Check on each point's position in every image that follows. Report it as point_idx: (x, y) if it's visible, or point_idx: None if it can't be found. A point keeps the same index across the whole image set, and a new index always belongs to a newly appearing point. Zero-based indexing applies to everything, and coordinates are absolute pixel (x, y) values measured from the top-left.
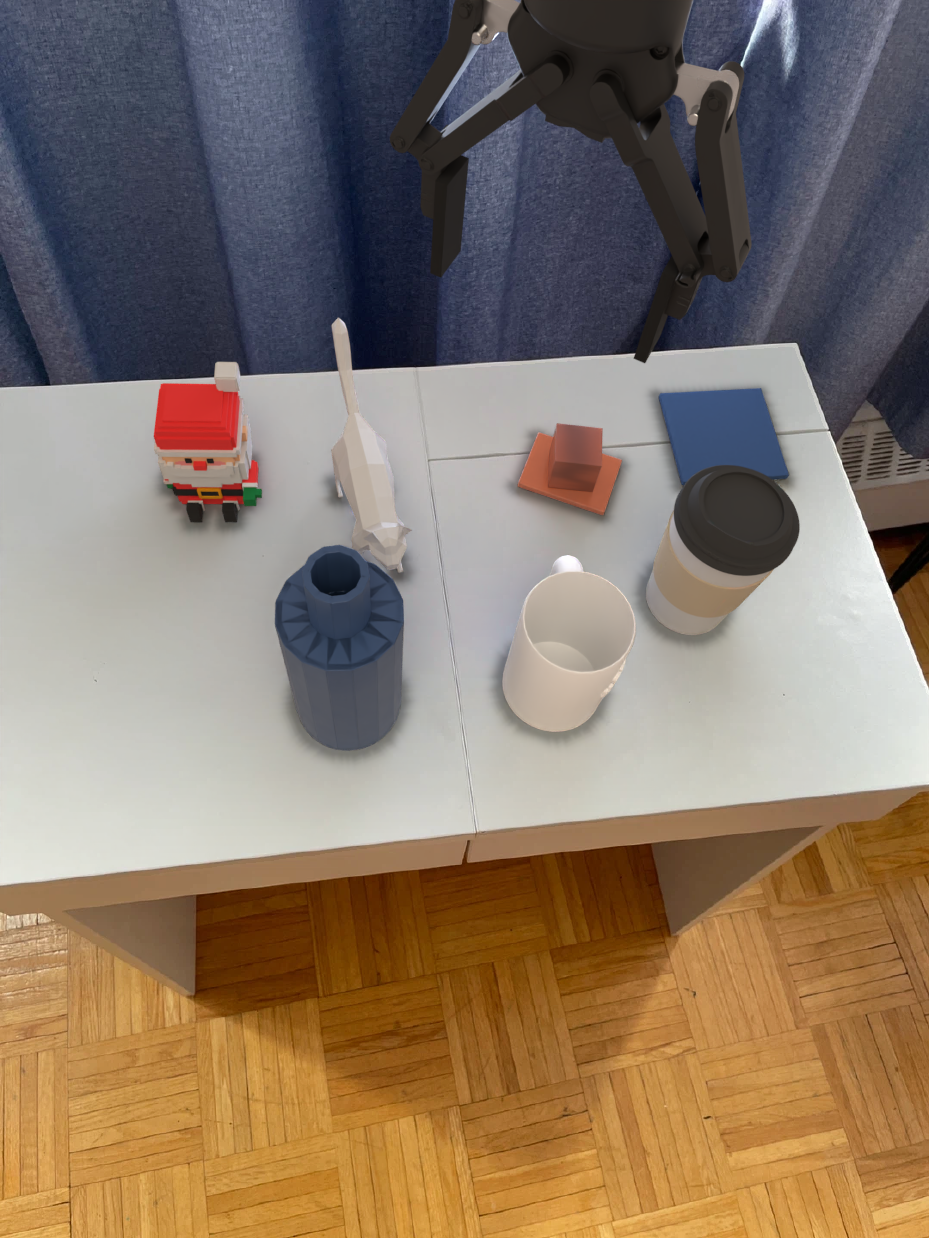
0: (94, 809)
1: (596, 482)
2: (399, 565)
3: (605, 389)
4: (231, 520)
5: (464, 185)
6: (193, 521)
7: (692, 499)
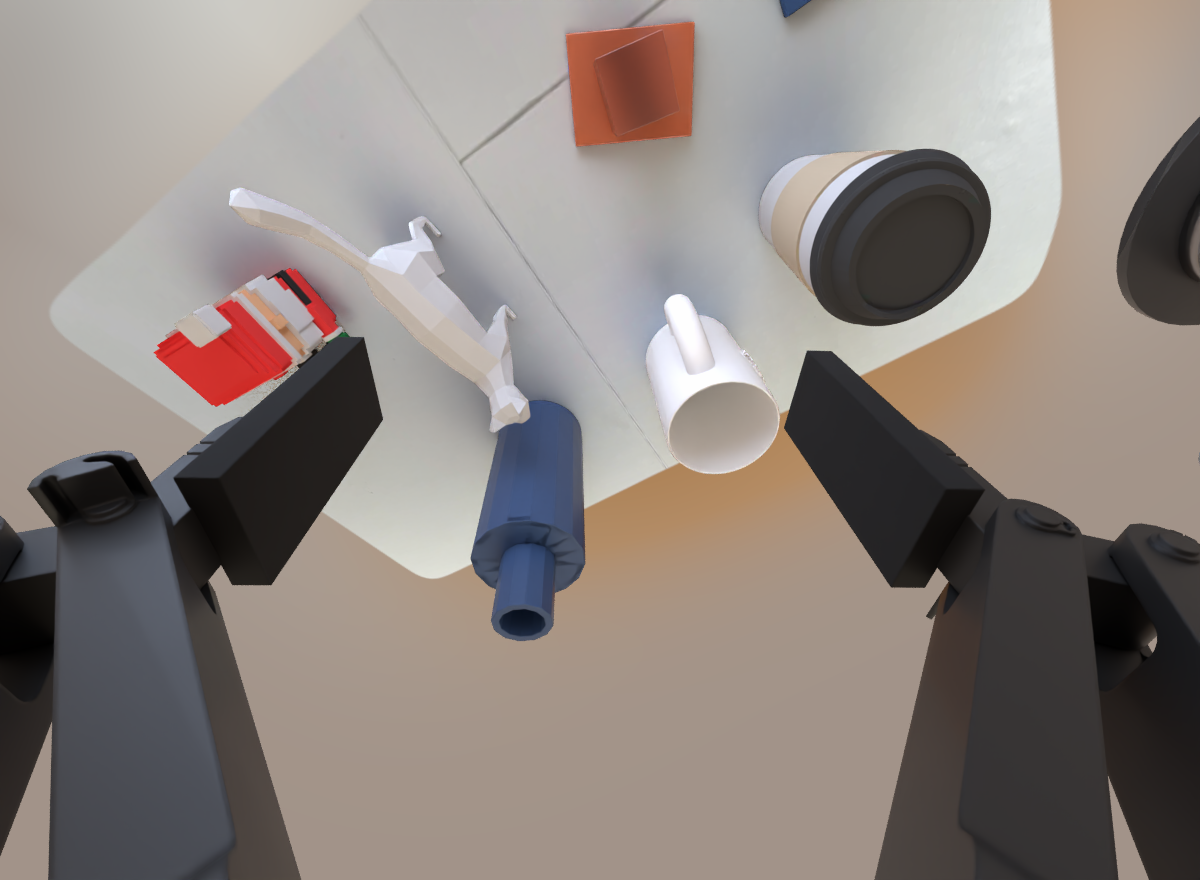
0: (439, 546)
1: None
2: (510, 314)
3: None
4: None
5: (273, 439)
6: None
7: (838, 268)
